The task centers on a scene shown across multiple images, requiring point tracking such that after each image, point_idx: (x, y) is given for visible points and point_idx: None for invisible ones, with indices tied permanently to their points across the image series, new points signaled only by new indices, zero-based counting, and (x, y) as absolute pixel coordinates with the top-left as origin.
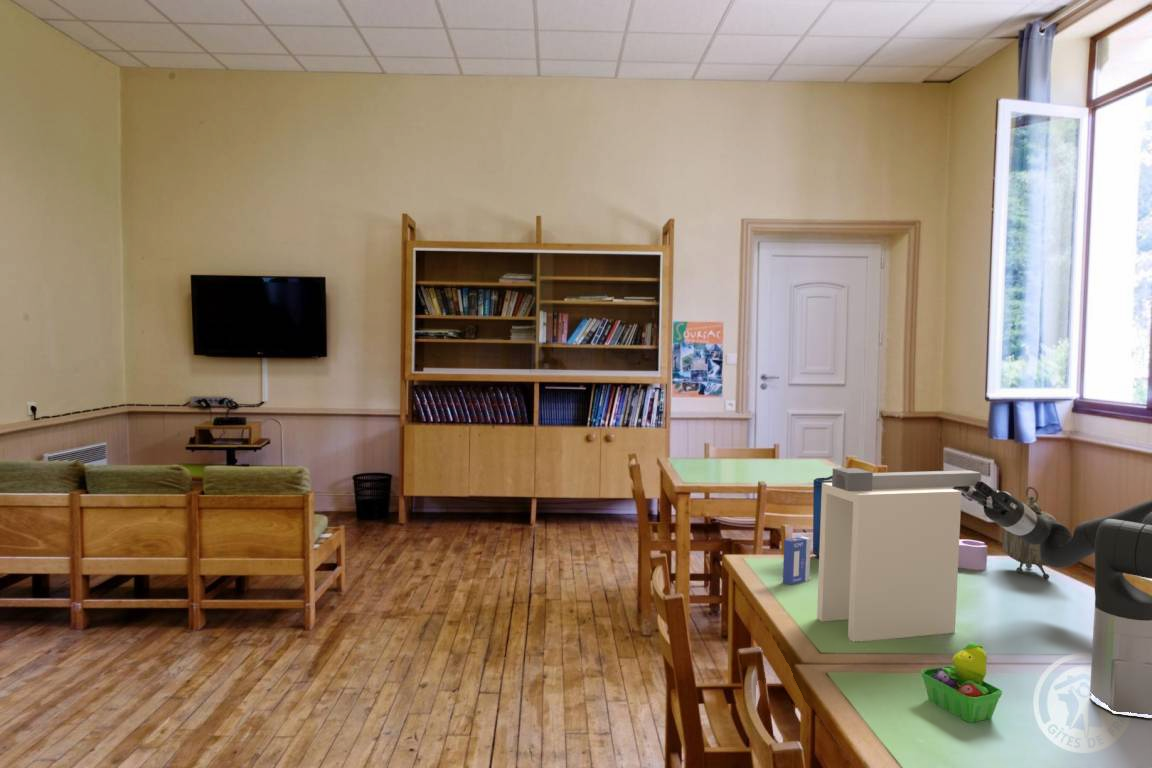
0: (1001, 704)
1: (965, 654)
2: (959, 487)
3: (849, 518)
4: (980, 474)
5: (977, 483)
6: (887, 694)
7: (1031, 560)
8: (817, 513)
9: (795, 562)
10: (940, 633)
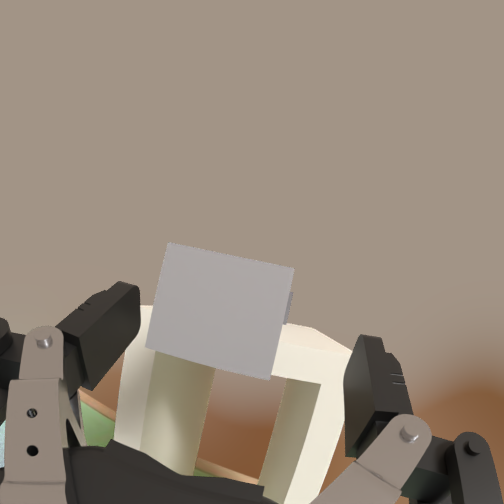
0: (4, 434)
1: None
2: (349, 444)
3: (287, 392)
4: (167, 256)
5: (133, 300)
6: (87, 427)
7: None
8: None
9: None
10: None
